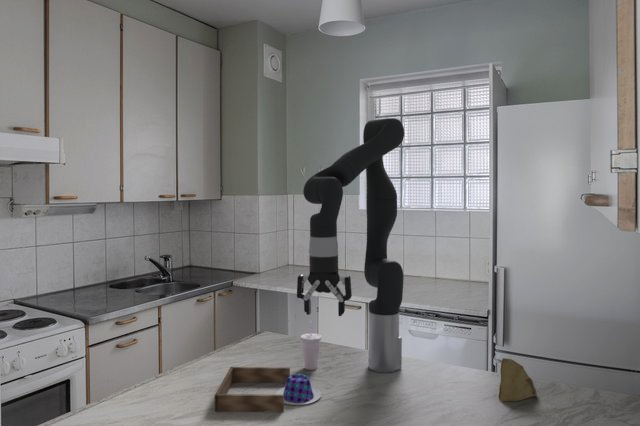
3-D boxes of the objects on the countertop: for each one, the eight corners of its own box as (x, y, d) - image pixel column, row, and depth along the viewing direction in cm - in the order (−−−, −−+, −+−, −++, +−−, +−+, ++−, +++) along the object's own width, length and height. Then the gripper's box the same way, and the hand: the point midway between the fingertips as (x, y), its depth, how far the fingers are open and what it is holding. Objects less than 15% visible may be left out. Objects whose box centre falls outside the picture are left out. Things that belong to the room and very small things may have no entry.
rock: (535, 381, 129) (497, 372, 132) (543, 363, 124) (502, 354, 127) (536, 418, 122) (495, 408, 125) (544, 402, 116) (501, 391, 119)
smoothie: (322, 364, 148) (322, 319, 147) (320, 371, 141) (320, 325, 141) (302, 363, 148) (302, 318, 148) (299, 371, 142) (299, 324, 141)
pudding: (328, 392, 128) (328, 373, 128) (309, 411, 117) (309, 390, 117) (288, 384, 133) (288, 366, 133) (266, 402, 122) (266, 382, 122)
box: (289, 381, 134) (289, 367, 134) (283, 412, 116) (283, 396, 116) (230, 380, 135) (230, 366, 135) (214, 411, 116) (214, 395, 116)
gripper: (352, 252, 126) (353, 312, 127) (300, 251, 129) (301, 309, 130) (348, 256, 119) (349, 320, 120) (293, 255, 122) (294, 317, 123)
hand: (324, 314), depth 125 cm, fingers open, 8 cm apart
